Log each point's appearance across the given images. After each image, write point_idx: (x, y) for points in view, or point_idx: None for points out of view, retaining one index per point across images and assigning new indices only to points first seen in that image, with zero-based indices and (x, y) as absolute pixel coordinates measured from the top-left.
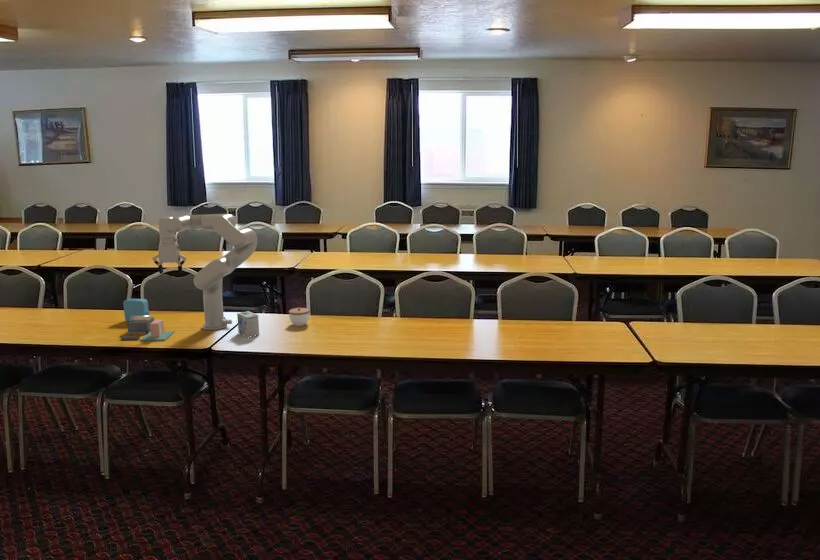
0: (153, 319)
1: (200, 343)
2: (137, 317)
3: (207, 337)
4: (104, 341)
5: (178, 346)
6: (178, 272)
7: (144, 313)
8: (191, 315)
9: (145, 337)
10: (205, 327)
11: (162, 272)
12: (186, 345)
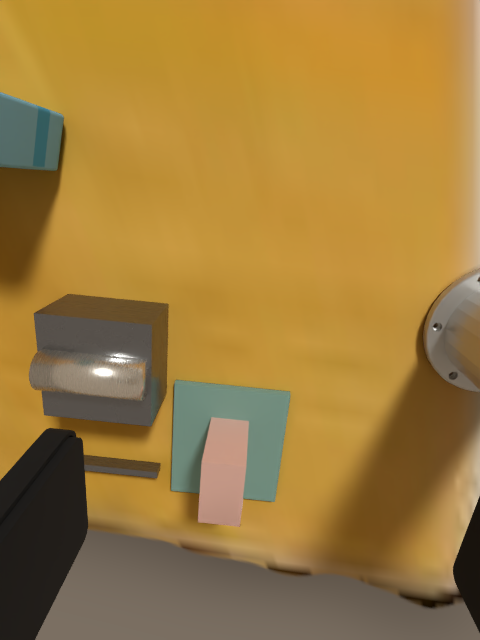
0: (154, 332)
1: (425, 545)
2: (76, 393)
3: (452, 481)
4: None
5: (342, 562)
6: (465, 594)
7: (32, 166)
8: (322, 5)
9: (182, 467)
10: (445, 373)
11: (79, 478)
12: (372, 557)
